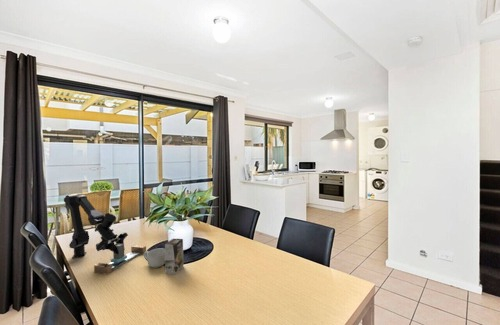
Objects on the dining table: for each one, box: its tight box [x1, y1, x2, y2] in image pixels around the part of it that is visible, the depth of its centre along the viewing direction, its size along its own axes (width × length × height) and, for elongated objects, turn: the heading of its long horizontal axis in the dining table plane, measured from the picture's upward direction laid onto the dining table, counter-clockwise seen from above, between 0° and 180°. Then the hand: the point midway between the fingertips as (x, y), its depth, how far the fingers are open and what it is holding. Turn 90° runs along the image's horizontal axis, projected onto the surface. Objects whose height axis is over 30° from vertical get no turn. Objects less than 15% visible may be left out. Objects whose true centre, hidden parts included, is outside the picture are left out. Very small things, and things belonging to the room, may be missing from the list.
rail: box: [93, 244, 147, 275], centre depth 144 cm, size 30×9×4 cm, turn 164°
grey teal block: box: [110, 243, 127, 263], centre depth 142 cm, size 7×5×9 cm
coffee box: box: [164, 238, 184, 275], centre depth 132 cm, size 9×6×16 cm
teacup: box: [143, 247, 165, 269], centre depth 139 cm, size 14×11×8 cm
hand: (121, 252), depth 141 cm, fingers closed on grey teal block, 4 cm apart
